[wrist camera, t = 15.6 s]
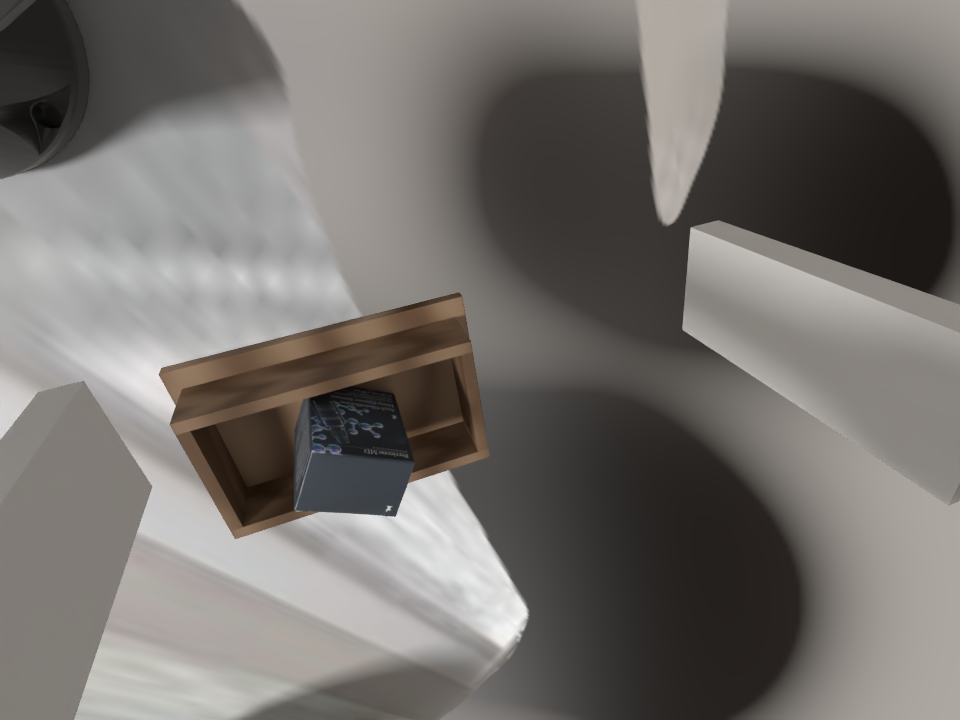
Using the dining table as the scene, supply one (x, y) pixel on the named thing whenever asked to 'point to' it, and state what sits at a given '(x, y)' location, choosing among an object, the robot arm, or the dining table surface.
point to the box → (351, 453)
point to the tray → (317, 370)
